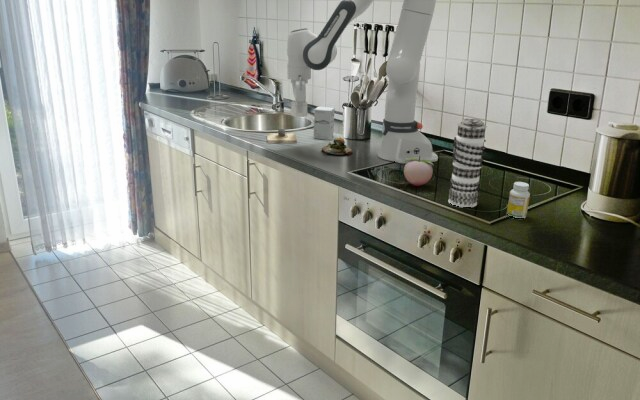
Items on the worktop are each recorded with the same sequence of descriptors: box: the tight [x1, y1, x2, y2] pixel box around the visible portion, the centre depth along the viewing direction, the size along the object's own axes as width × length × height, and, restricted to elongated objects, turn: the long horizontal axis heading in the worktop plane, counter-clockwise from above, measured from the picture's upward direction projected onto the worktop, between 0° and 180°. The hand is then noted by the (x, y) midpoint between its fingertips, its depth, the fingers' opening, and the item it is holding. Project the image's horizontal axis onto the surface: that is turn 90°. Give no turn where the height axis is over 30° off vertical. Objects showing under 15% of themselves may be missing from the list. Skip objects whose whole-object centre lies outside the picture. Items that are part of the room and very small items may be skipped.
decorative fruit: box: [403, 156, 435, 187], centre depth 179 cm, size 9×8×10 cm
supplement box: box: [313, 106, 336, 141], centre depth 237 cm, size 7×7×13 cm
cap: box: [290, 100, 308, 118], centre depth 214 cm, size 6×6×5 cm
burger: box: [321, 133, 353, 157], centre depth 216 cm, size 12×12×8 cm
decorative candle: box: [447, 118, 488, 208], centre depth 164 cm, size 9×9×25 cm
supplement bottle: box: [506, 181, 531, 219], centre depth 157 cm, size 5×5×10 cm
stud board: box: [266, 128, 298, 144], centre depth 233 cm, size 12×12×4 cm
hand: (299, 110), depth 214 cm, fingers closed on cap, 6 cm apart
